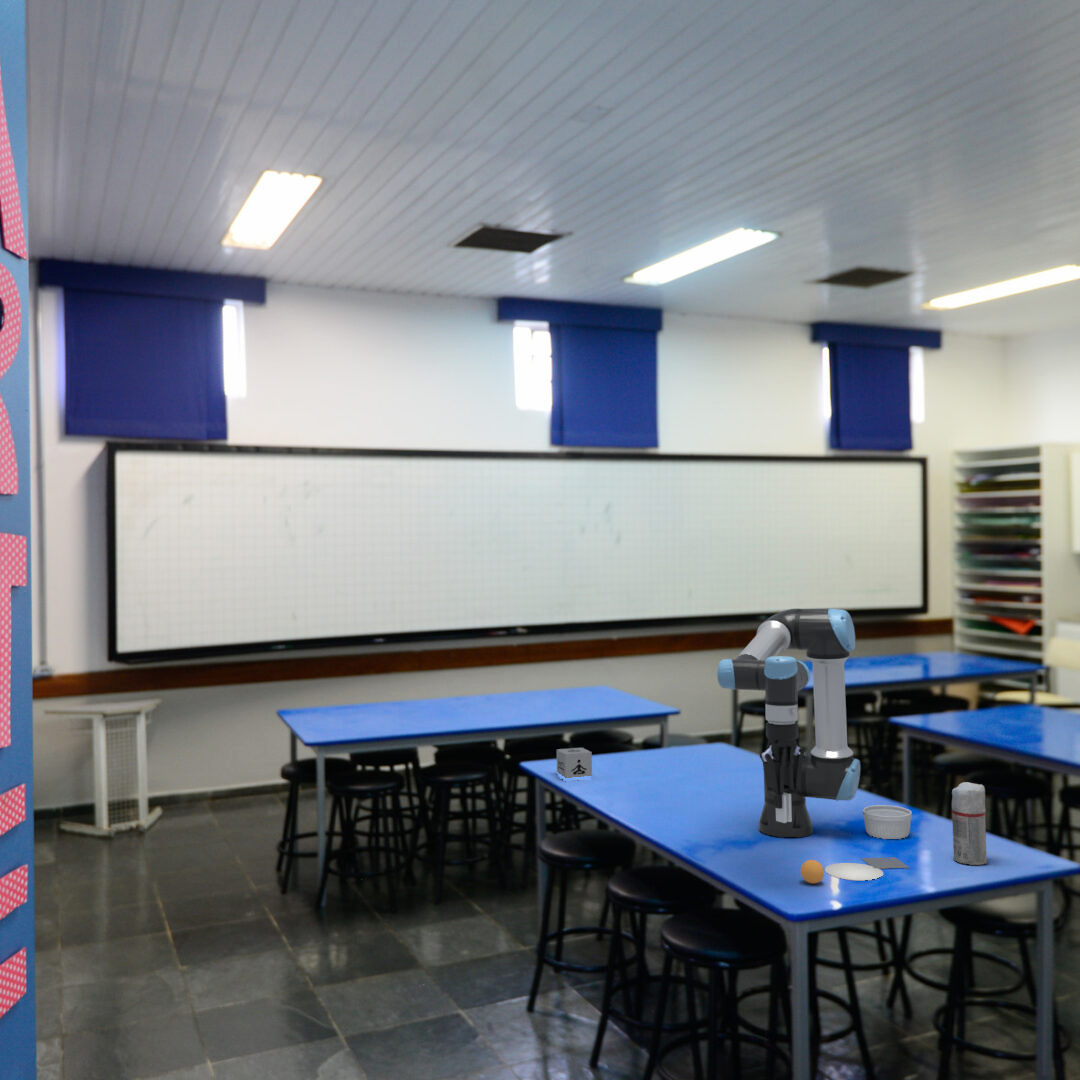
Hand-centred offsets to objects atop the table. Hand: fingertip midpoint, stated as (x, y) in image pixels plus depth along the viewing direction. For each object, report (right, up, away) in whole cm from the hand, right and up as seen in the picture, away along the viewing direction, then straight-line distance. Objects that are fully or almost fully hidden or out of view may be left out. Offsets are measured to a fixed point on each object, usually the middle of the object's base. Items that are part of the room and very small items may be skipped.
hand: (783, 821), depth 241 cm
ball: (+8, -14, +5) cm, 17 cm away
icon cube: (-46, -20, +127) cm, 137 cm away
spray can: (+53, -16, +20) cm, 59 cm away
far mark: (+31, -16, +20) cm, 40 cm away
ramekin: (+41, -17, +47) cm, 64 cm away
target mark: (+21, -16, +13) cm, 29 cm away
